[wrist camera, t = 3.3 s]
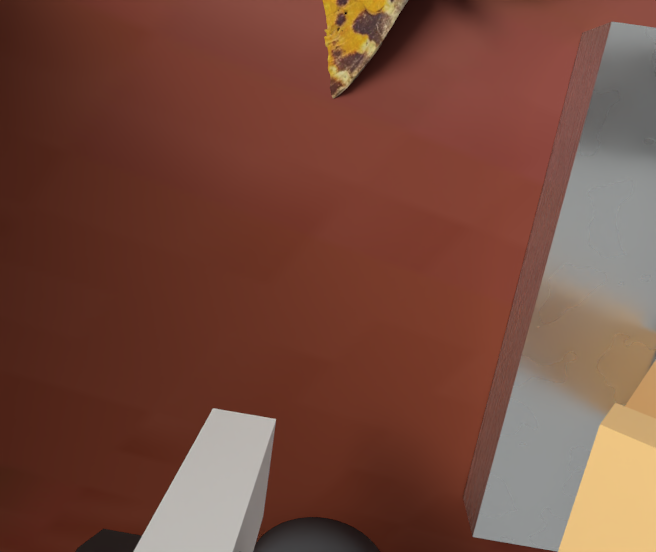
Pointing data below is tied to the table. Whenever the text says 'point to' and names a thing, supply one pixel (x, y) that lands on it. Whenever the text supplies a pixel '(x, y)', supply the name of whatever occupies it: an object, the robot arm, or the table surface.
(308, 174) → the table surface
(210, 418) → the robot arm
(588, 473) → the paddle orange
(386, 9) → the butterfly model
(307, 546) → the grey stacked discs
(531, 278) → the panel
